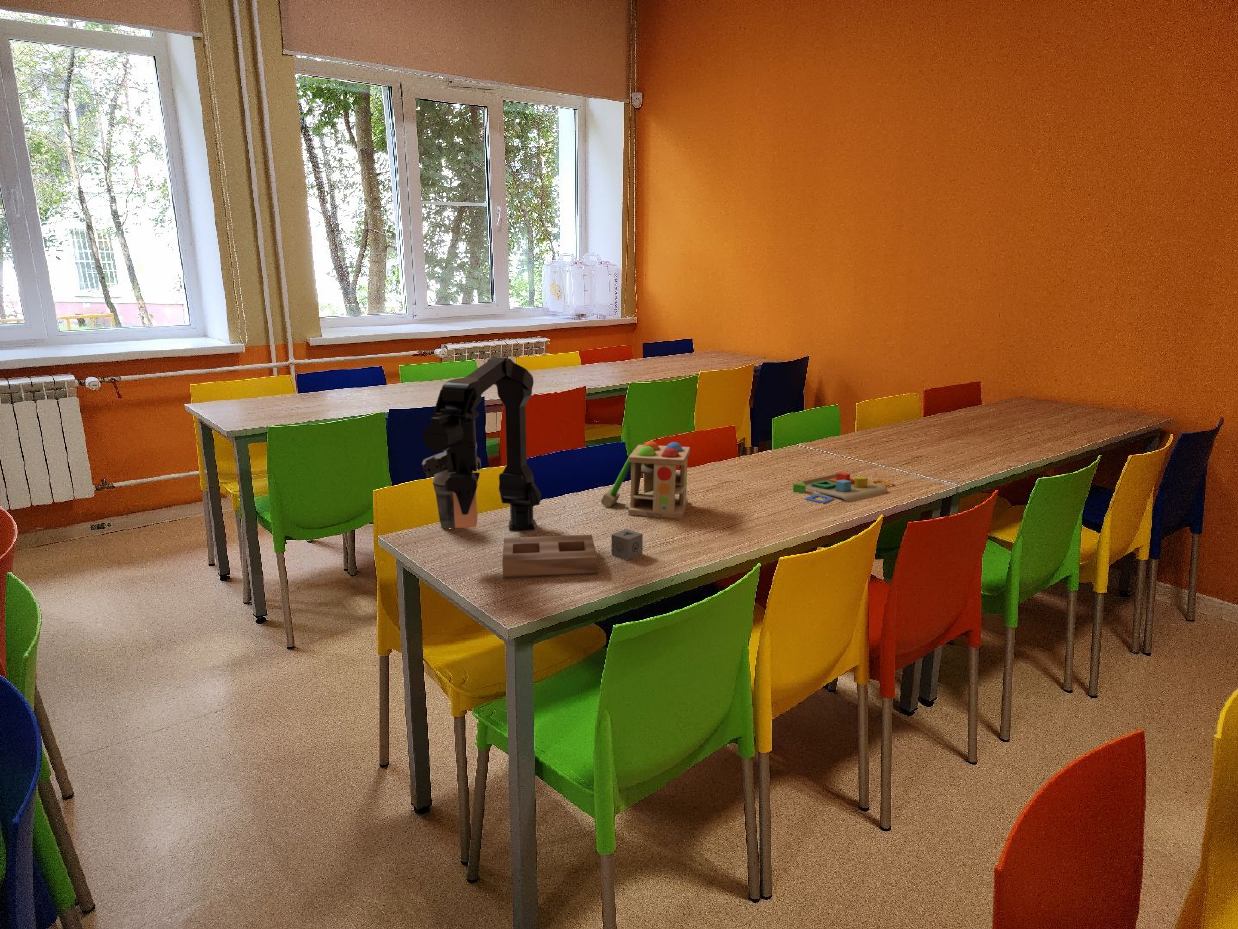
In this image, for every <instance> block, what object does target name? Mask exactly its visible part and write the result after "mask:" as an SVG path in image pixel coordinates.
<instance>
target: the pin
mask: <svg viewBox="0 0 1238 929" xmlns="http://www.w3.org/2000/svg"><path fill="white" fill-rule="evenodd" d="M453 499H454V517H455V529H463V528H466V529H467V528H477V526H478V525H477V524H478V502H477V501H478V500H477V491H476V492H475V495H474V497H473V500H472V503H471V506H470V509H469V512H468V514H467V515H463V514H462V511H461V508H460V505H459V501H458V498H457V495H456V493H454V492H453Z"/></svg>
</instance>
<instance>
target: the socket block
mask: <svg viewBox="0 0 1238 929" xmlns="http://www.w3.org/2000/svg"><path fill="white" fill-rule="evenodd" d="M502 548H503V549H502V561H501V562H502V579H503V580H505V579H506V580H507V579H528V578H530V579H531V578H549V577H552V578H553V577H574V576H593V575H594V576H598V555H597V550H596V546H595V541H594V537H593V535H592V534H576V535H575V534H574V535H571V534H569V535H550V536H549V535H548V536H547V535H546V536H544V535H543V536H523V537H522V536H521V537H503V546H502Z"/></svg>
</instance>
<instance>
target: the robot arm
mask: <svg viewBox="0 0 1238 929" xmlns="http://www.w3.org/2000/svg"><path fill="white" fill-rule="evenodd" d="M534 382H535V381H534V376H533V375H532V374H531V373H530V372H529V370H527V368H525V367H523V366H521V365H519V364H517V363H516V362H514V361H513V360H512V359H511V358H510V357H509V358H508V357H505V356H492V357H488V359H487V361H486V362H485V363H483V364H482V365H480V366H479V367H478V368H476V369H475V370H474V371H472V372H471V373H469V374H468V375H466V376H464V377H460V378H453V379H450V380H447V381H446V382H444V384H442V386H441V388H440V391H439V395H438V397H437V401H436V404H435V406H434V410H433V412H432V413H433V414H432V416H433V417H431V419H430V424H429V425H427V426H426V427H425V429H424V431H423V433H422V439H423V442H424V444H425V445H426V447H427V448H428V449H429V450H431V451H433V452H437V453H438V452H440V453H438V454H437V453H436V454H433V455H432V456H429V457H426V458H425V459H423V460H422V462H421V466H422V469H423V472H424V473H425V474H426V477H427V478H431V477H434V475H435V474H437V473H440V472H442V471H445V470H447V473H451V474H450V475H449V476H448V477H447V478H446V481H445V486H446V491H453V492H454V493H456V495H457V498H458V501H459V505H460V508H461V511H462V514H463V515H467V514H468V512H469V509H470V506H471V503H472V500H473V497H474V495H475V492H476V493H477V489H478V486H479V484H478V481H479V479H480V475H481V474H480V472H477V471H481V468H482V465H481V464H482V463H481V461H482V460H481V458H480V457H478V456H477V448H478V443H477V436H476V435H477V434H476V418H477V417H479V416H480V412H478V411H477V410H476V408H477V407H478V406H479V405H480V403H481V402H482V400H483V399H482V395H483V394H484V393H485V392H486V391H487V390H489V389H490V388H491V387H492V386H493V385H494V386H496V391H497V392H496V393H497V397H498V398H499V400H500V401H501V403H502V404H503V406H504V410H505V411H504V414H505V415H504V417H505V418H504V419H505V420H504V421H505V422H504V424H505V450H506V451H505V453H506V454H505V455H506V459H505V460H506V465H505V468H504V469H503V471H502V472H500V474H498V475H499V476H498V480H499V481H498V482H499V485H498V492H499V495H500V496H499V497H500V500H501V504H507V505H509V512H510V513H509V514H510V515H509V516H510V520H508V521H509V522H508V530H509V531H520V530H521V531H525V530H526V531H527V530H535V529H536V520H535V519H534V507H535V506H539V505H540V503H541V501H542V492H541V491H540V490H539V488H538V486H537V485H536V484H535V477H534V473H533V471H532V470H531V468H530V467H529V465H528V464H527V425H526V424H527V423H526V422H527V421H526V420H527V418H526V415H527V414H526V406H527V403H528V402H529V400H530V398H531V397H532V395H533V387H534ZM444 450H446V451H445V452H444ZM442 451H443V452H442ZM453 472H455V473H453Z"/></svg>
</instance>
